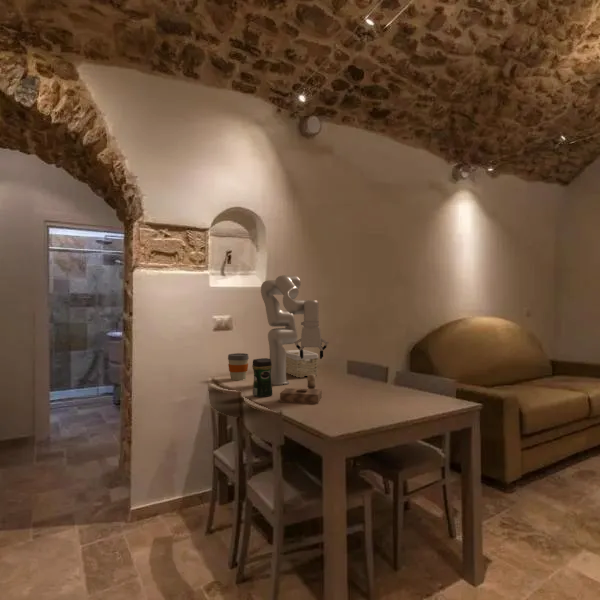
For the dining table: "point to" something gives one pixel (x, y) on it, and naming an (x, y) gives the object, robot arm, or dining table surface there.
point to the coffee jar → (262, 377)
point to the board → (301, 395)
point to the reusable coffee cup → (238, 365)
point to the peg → (311, 381)
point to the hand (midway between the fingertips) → (311, 358)
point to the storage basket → (301, 363)
